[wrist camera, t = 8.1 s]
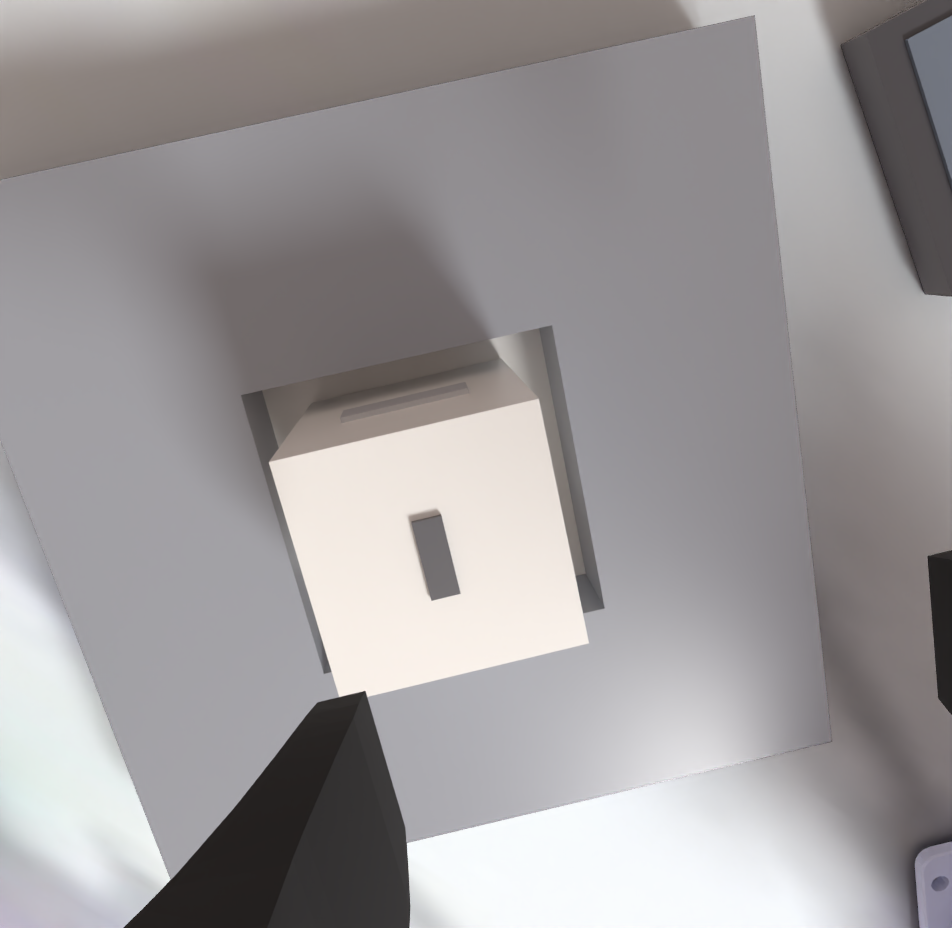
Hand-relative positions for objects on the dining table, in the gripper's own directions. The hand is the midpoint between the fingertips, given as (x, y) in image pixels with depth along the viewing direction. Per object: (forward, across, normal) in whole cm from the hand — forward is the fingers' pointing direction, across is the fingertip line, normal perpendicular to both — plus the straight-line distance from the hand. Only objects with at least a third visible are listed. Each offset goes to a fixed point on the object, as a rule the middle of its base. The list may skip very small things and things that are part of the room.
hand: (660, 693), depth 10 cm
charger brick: (+9, +2, -1) cm, 10 cm away
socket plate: (+10, +3, -1) cm, 10 cm away
